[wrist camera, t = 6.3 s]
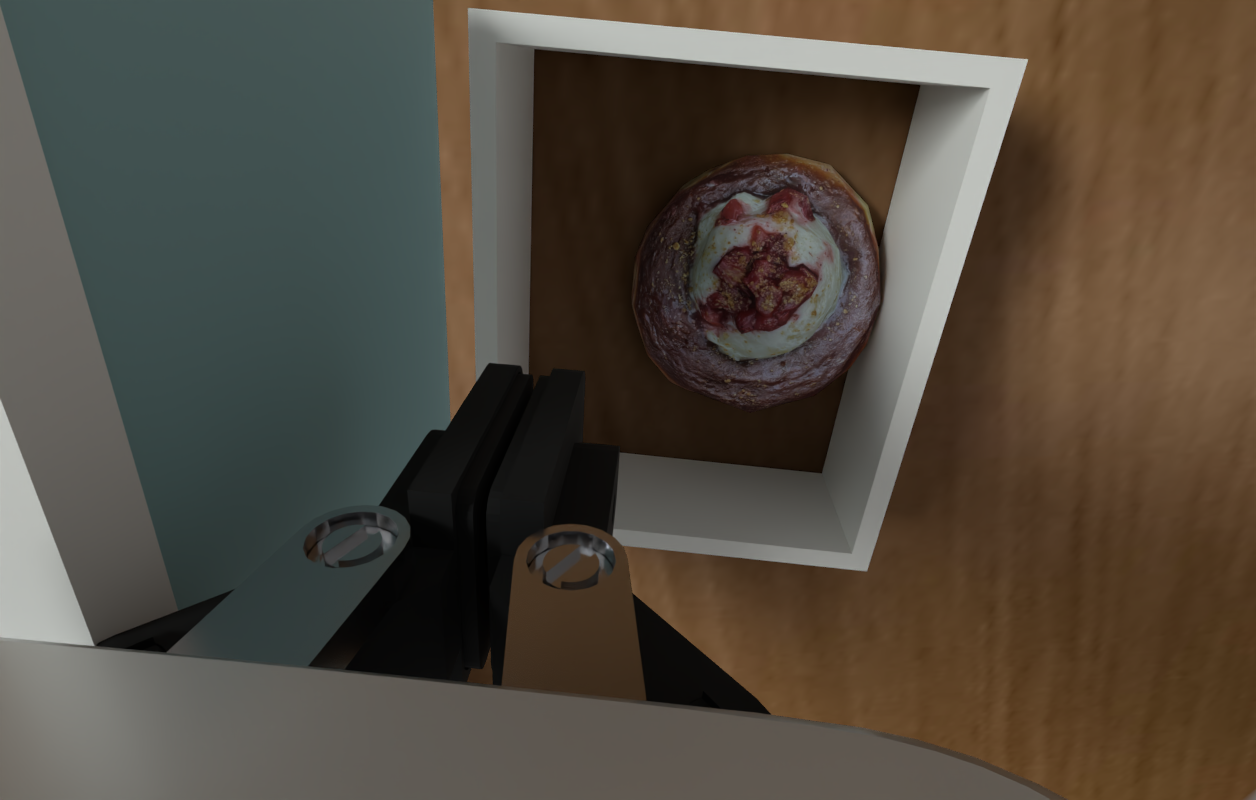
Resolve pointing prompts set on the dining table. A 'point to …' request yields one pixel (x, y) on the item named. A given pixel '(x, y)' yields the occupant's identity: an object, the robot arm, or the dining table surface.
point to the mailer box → (908, 264)
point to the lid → (206, 291)
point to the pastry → (758, 281)
